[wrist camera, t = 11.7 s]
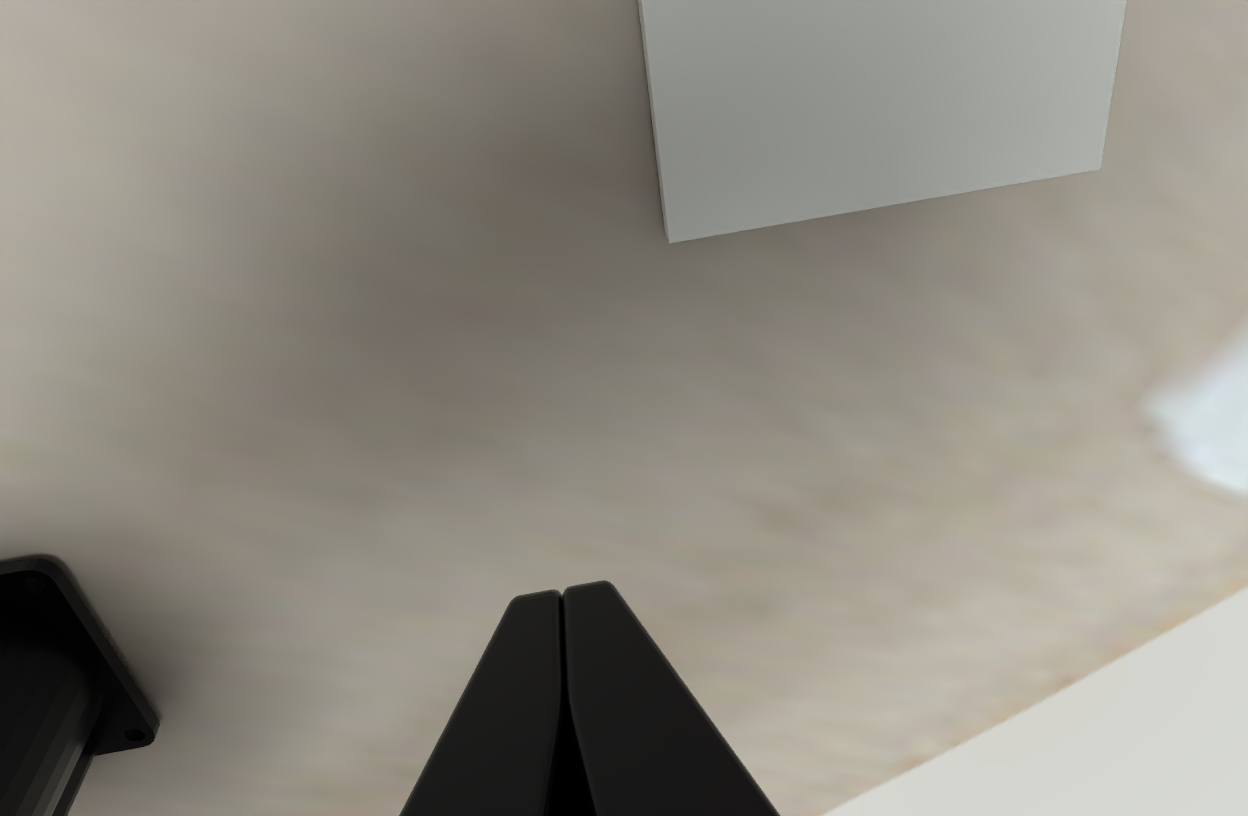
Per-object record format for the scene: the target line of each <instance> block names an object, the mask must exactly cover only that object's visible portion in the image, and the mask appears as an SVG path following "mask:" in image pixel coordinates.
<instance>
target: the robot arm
mask: <svg viewBox="0 0 1248 816" xmlns="http://www.w3.org/2000/svg"><path fill="white" fill-rule="evenodd" d="M33 578H36V579H39V580H41V581H42V582H38V581H36V580H34V579H33ZM159 726H160V723H159V720H158V718H157V717H156V715H155V714H154V712H153V710H152V709H151V707H150V706H149V704H148V703H147V701H146V700H145V698H144V697H143V695H142V693H141V692H140V690H139V689H138V687H137V686H136V684H135V683H134V681H133V679H132V678H131V676H130V675H129V673H128V672H127V670H126V669H125V667H124V665H123V664H122V662H121V661H120V659H119V658H118V656H117V655H116V653H115V652H114V650H113V648H112V647H111V645H110V644H109V642H108V641H107V639H106V638H105V636H104V634H103V633H102V631H101V630H100V628H99V627H98V625H97V624H96V622H95V620H94V619H93V617H92V616H91V614H90V613H89V611H88V610H87V608H86V607H85V605H84V603H83V602H82V600H81V599H80V597H79V596H78V594H77V593H76V591H75V589H74V588H73V586H72V585H71V583H70V582H69V580H68V579H67V577H66V575H65V574H64V572H63V571H62V570H61V569H60V568H59V567H58V566H57V565H56V564H54V563H52V562H50V561H48V560H44V559H27V560H22V561H16V562H10V563H5V564H0V816H67V815H68V813H69V810H70V808H71V806H72V804H73V802H74V799H75V797H76V795H77V793H78V791H79V788H80V786H81V784H82V782H83V780H84V777H85V775H86V773H87V771H88V769H89V766H90V764H91V762H92V760H93V758H94V756H96V755H102V754H107V753H113V752H118V751H124V750H129V749H135V748H140V747H144V746H147V745H150V744H151V743H152V742H153V741H154V739H155V736H156V734H157V731H158V729H159ZM399 816H780V814H779V813H778V812H777V810H776V809H775V808H774V806H773V805H772V803H771V802H770V801H769V799H768V798H767V797H766V795H765V794H764V792H763V791H762V790H761V788H760V787H759V785H758V784H757V783H756V781H755V780H754V779H753V777H752V776H751V774H750V773H749V772H748V770H747V769H746V767H745V766H744V765H743V763H742V762H741V761H740V759H739V758H738V756H737V755H736V754H735V752H734V751H733V749H732V748H731V747H730V745H729V744H728V743H727V741H726V740H725V738H724V737H723V736H722V734H721V733H720V732H719V730H718V729H717V727H716V726H715V725H714V723H713V722H712V720H711V719H710V718H709V716H708V715H707V714H706V712H705V711H704V709H703V708H702V707H701V705H700V704H699V702H698V701H697V700H696V698H695V697H694V696H693V694H692V693H691V691H690V690H689V689H688V687H687V686H686V685H685V683H684V682H683V680H682V679H681V678H680V676H679V675H678V673H677V672H676V671H675V669H674V668H673V667H672V665H671V664H670V662H669V661H668V660H667V658H666V657H665V655H664V654H663V653H662V651H661V650H660V649H659V647H658V646H657V644H656V643H655V642H654V640H653V639H652V637H651V636H650V635H649V633H648V632H647V631H646V629H645V628H644V626H643V625H642V624H641V622H640V621H639V620H638V618H637V617H636V615H635V614H634V613H633V611H632V610H631V608H630V607H629V606H628V604H627V603H626V602H625V600H624V599H623V597H622V596H621V595H620V593H619V592H618V590H617V589H616V588H615V586H614V585H613V584H611V583H610V582H608V581H597V582H592V583H586V584H580V585H575V586H570V587H567V588H566V589H565V590H564V593H563V596H562V594H561V593H560V592H559V591H557V590H547V591H541V592H536V593H530V594H525V595H519V596H517V597H515V598H514V599H512V601H511V602H510V603H509V605H508V607H507V609H506V611H505V613H504V615H503V617H502V619H501V621H500V622H499V624H498V626H497V628H496V630H495V632H494V634H493V636H492V638H491V640H490V642H489V644H488V646H487V648H486V649H485V651H484V653H483V655H482V657H481V659H480V661H479V663H478V665H477V667H476V669H475V671H474V673H473V675H472V676H471V678H470V680H469V682H468V684H467V686H466V688H465V690H464V692H463V694H462V696H461V698H460V700H459V702H458V703H457V705H456V707H455V709H454V711H453V713H452V715H451V717H450V719H449V721H448V723H447V725H446V727H445V729H444V730H443V732H442V734H441V736H440V738H439V740H438V742H437V744H436V746H435V748H434V750H433V752H432V754H431V756H430V757H429V759H428V761H427V763H426V765H425V767H424V769H423V771H422V773H421V775H420V777H419V779H418V781H417V782H416V784H415V786H414V788H413V790H412V792H411V794H410V796H409V798H408V800H407V802H406V804H405V806H404V808H403V809H402V811H401V813H400V815H399Z"/></svg>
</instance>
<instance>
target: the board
mask: <svg viewBox="0 0 1248 816" xmlns="http://www.w3.org/2000/svg"><path fill="white" fill-rule="evenodd" d="M1126 3H1127V0H638V6H639V15H640V23H641V32H642V40H643V49H644V57H645V66H646V74H647V83H648V92H649V100H650V109H651V117H652V126H653V134H654V143H655V151H656V160H657V168H658V177H659V185H660V194H661V203H662V211H663V220H664V228H665V234H666V236H667V239H668V241H669V243H675V242H681V241H687V240H693V239H699V238H704V237H710V236H716V235H722V234H728V233H733V232H739V231H745V230H751V229H757V228H762V227H768V226H774V225H780V224H786V223H791V222H797V221H803V220H809V219H815V218H821V217H826V216H832V215H838V214H844V213H850V212H855V211H861V210H867V209H873V208H879V207H884V206H890V205H896V204H902V203H908V202H914V201H919V200H925V199H931V198H937V197H943V196H948V195H954V194H960V193H966V192H972V191H977V190H983V189H989V188H995V187H1001V186H1007V185H1012V184H1018V183H1024V182H1030V181H1036V180H1041V179H1047V178H1053V177H1059V176H1065V175H1070V174H1076V173H1082V172H1088V171H1094V170H1099V169H1101V163H1102V156H1103V150H1104V144H1105V137H1106V131H1107V124H1108V118H1109V112H1110V105H1111V99H1112V92H1113V86H1114V80H1115V73H1116V67H1117V60H1118V54H1119V48H1120V41H1121V35H1122V28H1123V22H1124V16H1125V9H1126Z"/></svg>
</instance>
